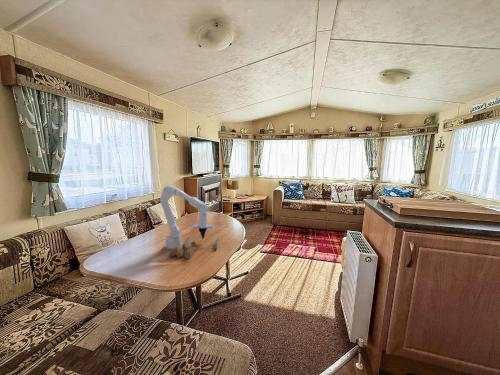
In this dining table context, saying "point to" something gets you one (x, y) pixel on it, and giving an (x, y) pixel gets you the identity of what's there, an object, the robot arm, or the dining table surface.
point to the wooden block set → (181, 251)
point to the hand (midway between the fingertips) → (203, 237)
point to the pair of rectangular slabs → (188, 244)
